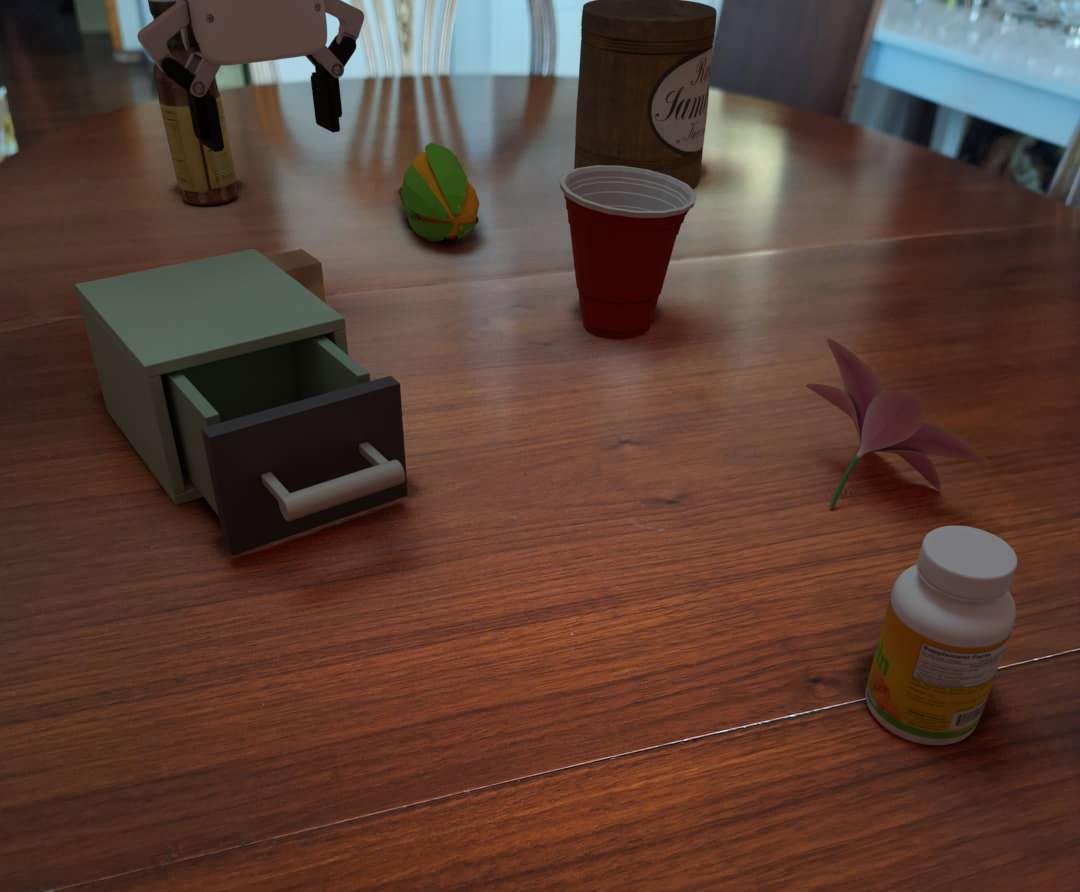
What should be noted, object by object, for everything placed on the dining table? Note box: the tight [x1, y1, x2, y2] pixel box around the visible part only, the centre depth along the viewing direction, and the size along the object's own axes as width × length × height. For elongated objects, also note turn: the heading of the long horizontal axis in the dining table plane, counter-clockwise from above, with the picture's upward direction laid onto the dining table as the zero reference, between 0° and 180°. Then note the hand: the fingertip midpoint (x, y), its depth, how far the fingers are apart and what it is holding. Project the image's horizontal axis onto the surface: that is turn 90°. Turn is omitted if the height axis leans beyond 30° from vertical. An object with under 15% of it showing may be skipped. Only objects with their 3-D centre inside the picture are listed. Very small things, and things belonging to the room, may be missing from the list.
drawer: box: [160, 334, 409, 557], centre depth 62 cm, size 18×11×8 cm, turn 35°
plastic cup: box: [559, 165, 698, 340], centre depth 84 cm, size 11×11×12 cm
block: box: [264, 248, 327, 304], centre depth 89 cm, size 4×4×4 cm
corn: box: [398, 142, 480, 243], centre depth 106 cm, size 7×8×20 cm
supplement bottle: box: [864, 525, 1018, 746], centre depth 48 cm, size 5×5×10 cm
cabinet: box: [74, 248, 349, 506], centre depth 70 cm, size 15×13×10 cm
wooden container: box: [573, 0, 718, 189], centre depth 116 cm, size 15×15×22 cm
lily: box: [805, 337, 992, 510], centre depth 65 cm, size 12×12×10 cm
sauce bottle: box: [147, 0, 238, 206], centre depth 108 cm, size 7×6×20 cm
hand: (272, 137), depth 82 cm, fingers open, 9 cm apart
